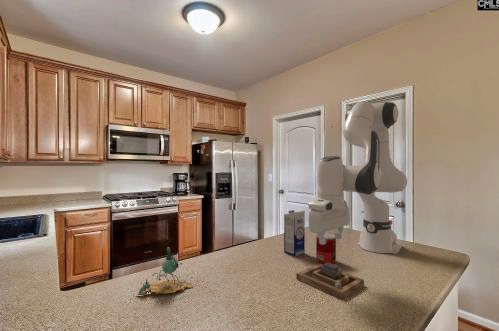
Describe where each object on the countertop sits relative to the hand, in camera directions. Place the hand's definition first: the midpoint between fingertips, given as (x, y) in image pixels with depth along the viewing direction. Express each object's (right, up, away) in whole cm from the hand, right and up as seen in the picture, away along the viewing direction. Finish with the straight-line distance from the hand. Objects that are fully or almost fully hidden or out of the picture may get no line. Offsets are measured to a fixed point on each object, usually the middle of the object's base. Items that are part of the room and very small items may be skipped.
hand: (330, 241), depth 87 cm
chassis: (0, -14, -1) cm, 14 cm away
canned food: (+4, -14, +18) cm, 24 cm away
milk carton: (-8, -14, +28) cm, 32 cm away
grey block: (0, -14, -1) cm, 14 cm away
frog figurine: (-56, -14, -6) cm, 58 cm away
